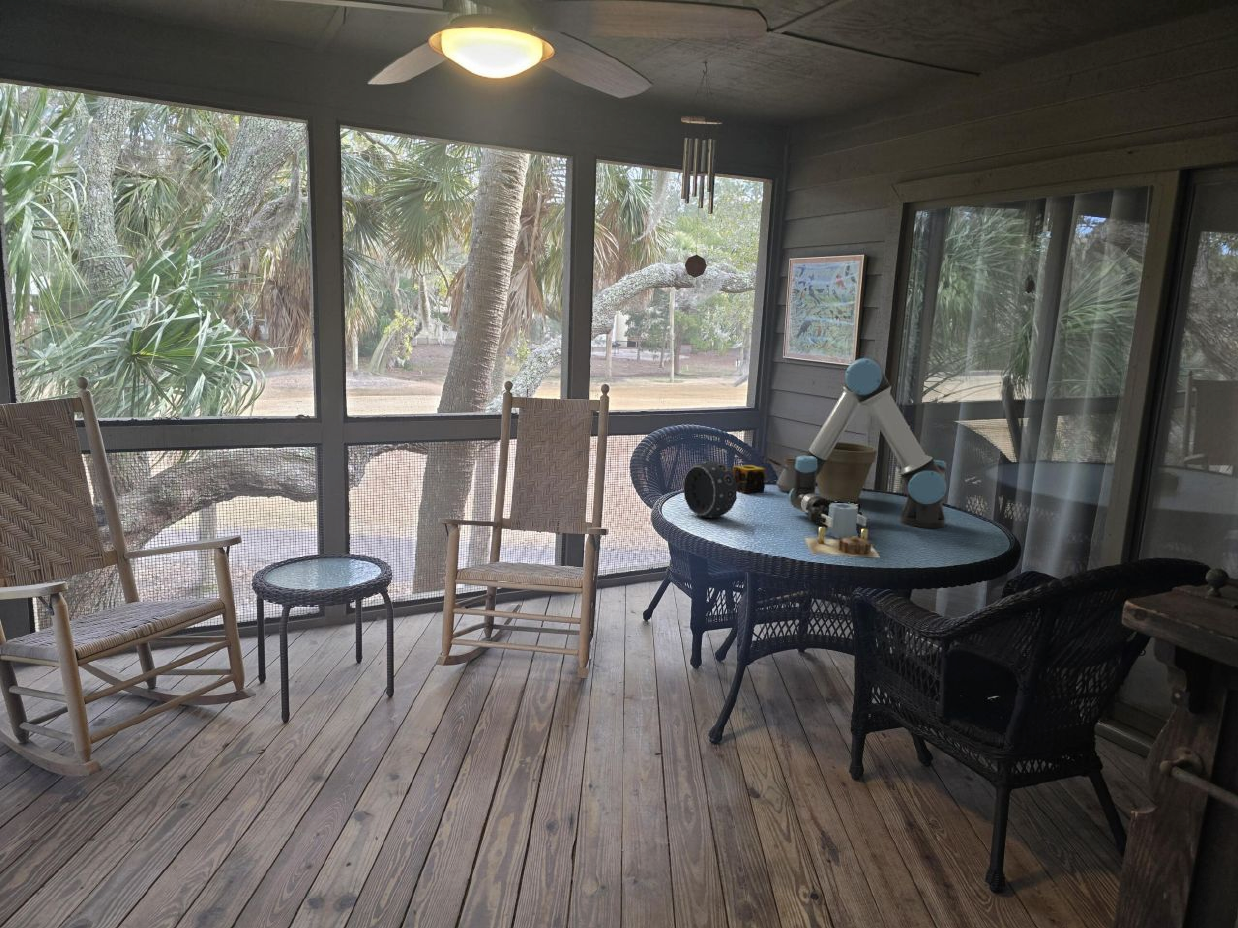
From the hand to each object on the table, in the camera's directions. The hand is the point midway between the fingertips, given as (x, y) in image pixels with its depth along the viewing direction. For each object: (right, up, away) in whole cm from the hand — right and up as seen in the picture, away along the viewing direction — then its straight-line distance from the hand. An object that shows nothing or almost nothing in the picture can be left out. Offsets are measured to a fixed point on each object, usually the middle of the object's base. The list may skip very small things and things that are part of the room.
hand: (848, 522), depth 257 cm
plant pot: (+14, +4, +64) cm, 65 cm away
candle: (-21, +7, +73) cm, 77 cm away
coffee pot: (-7, +7, +74) cm, 74 cm away
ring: (-42, 0, +28) cm, 50 cm away
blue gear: (-1, -6, +5) cm, 8 cm away
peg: (-10, -6, -6) cm, 13 cm away
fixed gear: (-2, -7, -13) cm, 15 cm away
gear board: (-5, -8, -10) cm, 14 cm away
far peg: (+3, -6, -7) cm, 10 cm away
